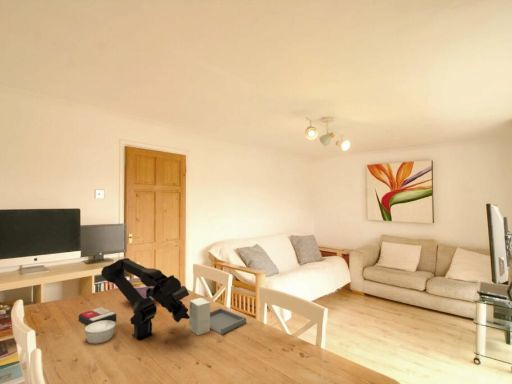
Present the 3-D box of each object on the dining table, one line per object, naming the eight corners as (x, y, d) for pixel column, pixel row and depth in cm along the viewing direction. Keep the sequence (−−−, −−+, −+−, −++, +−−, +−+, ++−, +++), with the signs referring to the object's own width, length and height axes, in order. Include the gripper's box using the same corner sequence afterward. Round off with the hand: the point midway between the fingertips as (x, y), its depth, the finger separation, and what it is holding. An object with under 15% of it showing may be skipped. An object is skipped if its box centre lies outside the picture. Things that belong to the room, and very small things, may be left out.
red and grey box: (101, 306, 143) (116, 312, 134) (101, 314, 143) (116, 321, 134) (78, 313, 134) (92, 320, 125) (78, 322, 134) (92, 329, 125)
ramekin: (120, 336, 119) (120, 324, 119) (92, 348, 110) (93, 335, 110) (106, 329, 125) (106, 317, 126) (79, 339, 116) (80, 327, 116)
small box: (210, 331, 125) (210, 302, 125) (197, 335, 121) (198, 305, 121) (201, 324, 131) (201, 297, 131) (188, 328, 127) (189, 300, 127)
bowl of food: (114, 305, 152) (114, 284, 152) (141, 294, 171) (142, 275, 171) (141, 312, 144) (142, 289, 145) (168, 299, 163) (168, 279, 163)
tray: (222, 335, 122) (222, 329, 122) (196, 322, 134) (196, 317, 134) (245, 323, 133) (246, 318, 133) (220, 312, 145) (220, 307, 145)
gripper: (183, 288, 113) (208, 310, 118) (172, 276, 129) (194, 296, 135) (163, 311, 109) (190, 333, 114) (154, 296, 125) (178, 315, 130)
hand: (188, 317), depth 123 cm, fingers closed
